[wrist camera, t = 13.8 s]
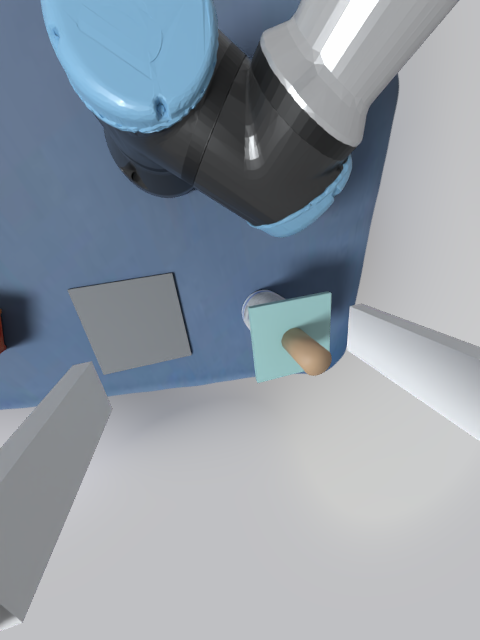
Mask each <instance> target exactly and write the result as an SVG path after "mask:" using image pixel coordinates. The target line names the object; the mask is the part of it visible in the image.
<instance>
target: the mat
mask: <svg viewBox="0 0 480 640" xmlns="http://www.w3.org/2000/svg"><path fill="white" fill-rule="evenodd" d="M68 293H69V295H70V297H71V299H72V302H73V304H74V306H75V309H76V311H77V313H78V316H79V318H80V320H81V323H82V325H83V327H84V330H85V332H86V334H87V337H88V339H89V341H90V344H91V346H92V348H93V351H94V353H95V355H96V358H97V360H98V362H99V365H100V367H101V369H102V372H103V374H104V375H105V374H110V373H114V372H118V371H123V370H127V369H132V368H136V367H141V366H145V365H150V364H154V363H158V362H163V361H167V360H172V359H176V358H181V357H185V356H189V355H192V354H191V350H190V346H189V341H188V337H187V333H186V329H185V325H184V321H183V316H182V312H181V308H180V304H179V300H178V295H177V291H176V287H175V283H174V279H173V274H172V273H168V274H161V275H155V276H149V277H142V278H136V279H130V280H124V281H117V282H111V283H105V284H99V285H92V286H86V287H80V288H74V289H68Z"/></svg>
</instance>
